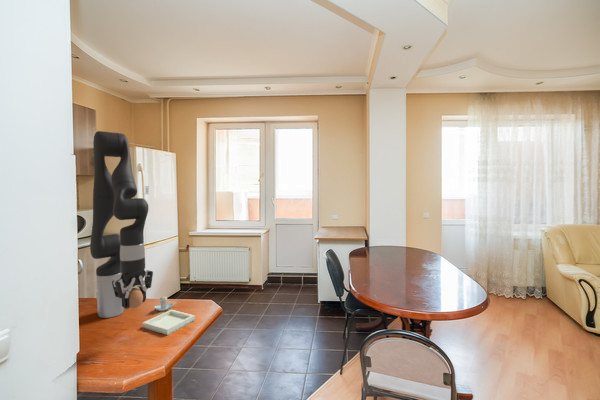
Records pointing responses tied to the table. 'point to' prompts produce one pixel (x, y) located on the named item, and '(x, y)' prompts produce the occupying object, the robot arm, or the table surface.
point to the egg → (135, 298)
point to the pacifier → (163, 304)
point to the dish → (168, 322)
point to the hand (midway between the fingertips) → (134, 304)
